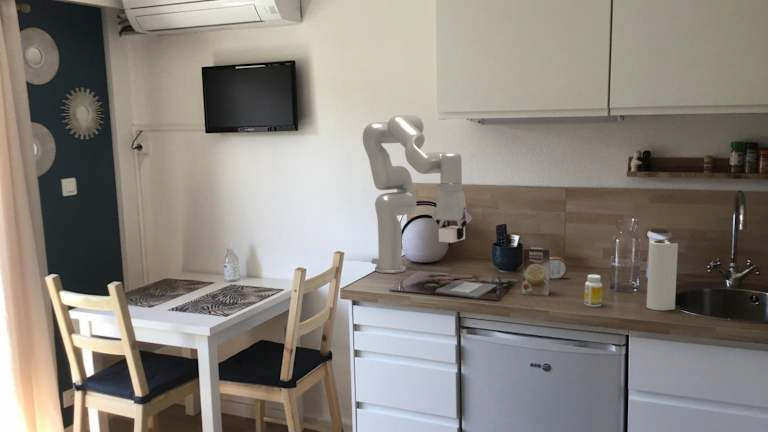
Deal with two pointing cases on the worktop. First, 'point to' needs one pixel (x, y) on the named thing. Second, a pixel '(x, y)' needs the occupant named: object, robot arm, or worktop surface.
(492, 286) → the mat
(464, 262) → the worktop surface
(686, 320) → the worktop surface
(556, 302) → the worktop surface
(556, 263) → the tin
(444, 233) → the card box
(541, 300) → the worktop surface
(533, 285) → the coffee box
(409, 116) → the robot arm
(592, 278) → the supplement bottle
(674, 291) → the paper towel roll
